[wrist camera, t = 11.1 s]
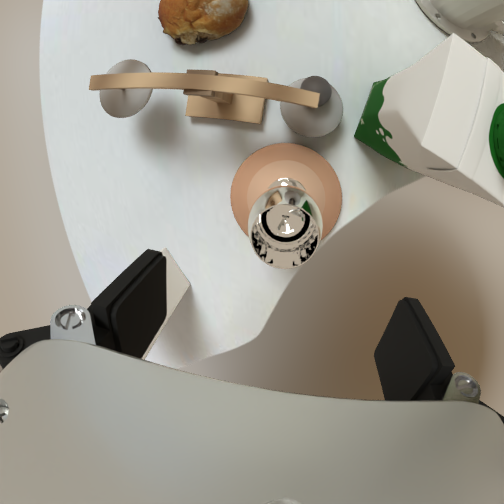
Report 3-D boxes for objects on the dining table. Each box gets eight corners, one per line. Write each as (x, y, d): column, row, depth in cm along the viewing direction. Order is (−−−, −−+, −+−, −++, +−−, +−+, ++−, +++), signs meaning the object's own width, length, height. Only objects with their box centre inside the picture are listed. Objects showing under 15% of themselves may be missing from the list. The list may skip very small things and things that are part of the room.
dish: (350, 155, 28) (352, 156, 27) (326, 255, 33) (327, 260, 32) (240, 134, 29) (238, 134, 28) (226, 236, 34) (224, 240, 33)
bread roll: (260, 24, 26) (276, -17, 19) (198, 67, 26) (200, 23, 18) (204, -10, 25) (209, -51, 17) (142, 28, 24) (133, -14, 16)
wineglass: (323, 190, 29) (344, 225, 18) (295, 233, 31) (297, 289, 21) (276, 161, 29) (269, 178, 18) (249, 206, 31) (227, 249, 20)
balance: (341, 90, 26) (373, 64, 14) (332, 142, 28) (359, 147, 17) (137, 71, 27) (69, 54, 16) (130, 118, 29) (60, 119, 18)
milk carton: (411, 174, 28) (530, 235, 10) (341, 140, 28) (423, 153, 10) (434, 109, 24) (564, 108, 6) (367, 71, 24) (462, 5, 6)
